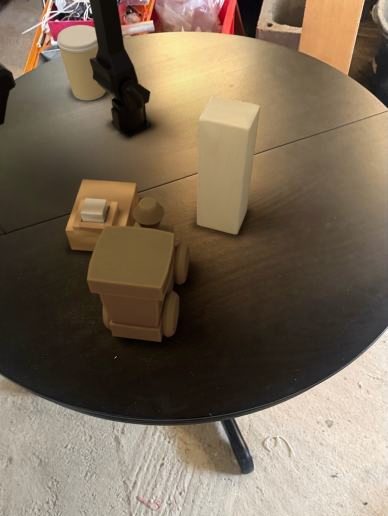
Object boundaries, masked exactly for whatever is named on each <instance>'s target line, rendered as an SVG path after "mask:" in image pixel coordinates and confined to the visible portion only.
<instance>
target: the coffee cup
mask: <svg viewBox="0 0 388 516" xmlns="http://www.w3.org/2000/svg"><path fill="white" fill-rule="evenodd" d="M56 43H57V46H58V49H59V52H60V56H61V59H62V62H63V65H64V68H65V73H66V75H67V79H68V82H69V86H70V88H71V92H72V94H73V96H74V97H75V98H76V99H79V100H81V101H93V100H97V99H100V98H102V97H103V96H104V95H105V94H106V93H107V91H106V90H104V89H103V88H102V87H100V86H99V85H98V83H97V81H95V80H94V79H93V69H92V66H91V64H90V58H95V57H96V55H97V51H98V43H97V37H96V32H95V27H93V26H90V25H86V24H76V25H71V26H68V27H64V28H63V29H62V30H61V31H60V32H58V34H57V39H56Z"/></svg>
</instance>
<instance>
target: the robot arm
mask: <svg viewBox="0 0 388 516" xmlns="http://www.w3.org/2000/svg"><path fill="white" fill-rule="evenodd" d="M88 1H89V5H90V6H89V7H90V11H91V16H92V21H93V26H94V28H95V32H96V37H97V43H98V51H97V55H96V57H95V58H90V64H91V66H92V69H93V79H94V80H95V81H97V83H98V85H99V86H100V87H102V88H103V89H104V90H106V93H107V94H109V95H111V97H113V98H111V99H110V101H111V108H110V111H111V118H112V120H111V122H110V123H111V125H112V126H113V127H114V128H116V129H117V130H118V132H120V133H121V134H123V135H124V136H125V137H127V138H130V137H132V136H134V135H136V134H138V133H140V132H143V131H144V130H147V129H148V128H151V127H152V123H151V121H149V120H148V118H147V108H146V107H147V106H146V105H147V104H149V102H150V98H151V91H150V90H149V89H148V88H146V87H145V86H144V85H142V84H140V83H139V78H138V75H137V71H136V67H135V65H134V63H133V61H132V59H131V58H130V56H129V54H128V52H127V50H126V48H125V47H126V46H125V42H124V36H123V29H122V22H121V16H120V15H121V14H120V7H119V1H118V0H88ZM16 86H17V84H16V81H15V77H14V74H13V72H12V71H11V70H10V69H9V68H8V67H6V65H4V64H3V63H1V62H0V126H2V125H4V124H5V120H6V114H7V107H8V100H9V96H10V93H11V91H12V90H13V89H14V88H16Z"/></svg>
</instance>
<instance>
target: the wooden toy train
mask: <svg viewBox="0 0 388 516" xmlns="http://www.w3.org/2000/svg"><path fill="white" fill-rule="evenodd" d="M165 214H166V211H165V209H164V207H163V206H162V205H161V204H160V203H159V202H158V201H157V200H156V199H154V198H153V197H150V196H146V197H143V198H141V199H140V200H139V203H138V204H137V206H136V207H135V209H134V211H133V217H134V219H135V222H134V226H133V227H131V226H105V227H104V229H103V231H102V233H101V234H100V236H99V238H98V240H97V243H96V245H95V248H94V251H92V254H91V257H90V260H89V263H88V269H87V276H86V282H87V284H88V288H89V293H92V294H98V295H99V297H100V301H101V303H102V321H103V324H104V326H105V327H106V328H107V329H108V330H110V331H111V335H112V337H119V338H125V339H126V338H127V339H135V340H143V341H151V342H157V343H158V342H160V343H161V342H162V341H163V336H165V337H167V338H170V337H173V336H174V335H175V333H176V330H177V326H178V322H179V321H178V320H179V316H180V315H179V313H180V296H179V293H178V292H176V291H174V290H173V289H174V285H175V284H177V285H179V286H180V285H183V284H184V283H185V282H186V280H187V276H188V271H189V265H190V245H189V244H188V243H187V242H186V241H180V242H175V239H176V238H175V230H174V227H173V224H170V223H165V222H162V221H163V219H164V217H165Z"/></svg>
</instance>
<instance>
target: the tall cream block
mask: <svg viewBox="0 0 388 516" xmlns="http://www.w3.org/2000/svg"><path fill="white" fill-rule="evenodd" d="M260 113H261V105H259V104H257V103H251V102H248V101H247V102H246V101H241V100H236V99H231V98H227V97H222V96H218V95H211V97H210V98H209V100H208V101H207V103H206V105H205V107H204V109H203V110H202V112H201V114H200V115H199V118H198V122H197V123H198V126H197V127H198V128H197V134H198V135H197V181H196V182H197V185H196V186H197V189H196V190H197V191H196V225H197V226H200V227H203V228H207V229H211V230H215V231H219V232H223V233H227V234H231V235H238V234H239V231H240V229H241V226H242V224H243V221H244V219H245V217H246V214H247V210H248V206H249V205H248V204H249V196H250V189H251V181H252V175H253V167H254V160H255V159H254V158H255V153H256V151H255V150H256V144H257V138H258V137H257V136H258V129H259V121H260Z"/></svg>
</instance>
